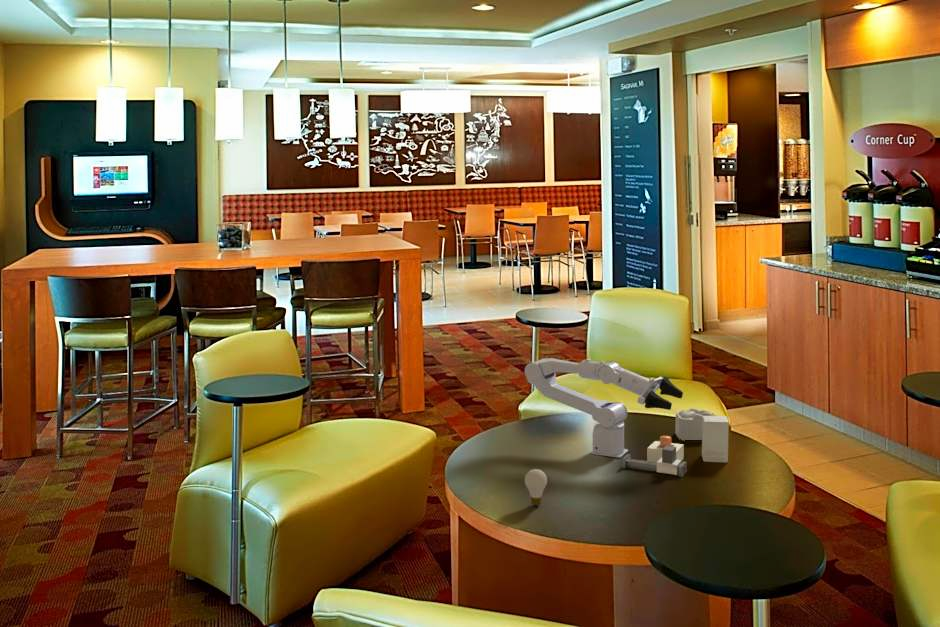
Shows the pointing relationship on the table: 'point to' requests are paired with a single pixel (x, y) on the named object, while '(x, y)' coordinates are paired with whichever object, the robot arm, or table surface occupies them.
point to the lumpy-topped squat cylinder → (690, 424)
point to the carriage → (668, 461)
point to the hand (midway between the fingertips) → (676, 401)
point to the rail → (649, 465)
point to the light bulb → (535, 485)
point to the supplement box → (715, 438)
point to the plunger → (665, 441)
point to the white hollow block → (656, 451)
